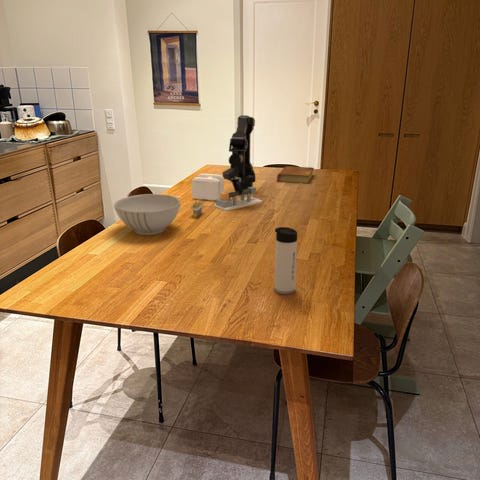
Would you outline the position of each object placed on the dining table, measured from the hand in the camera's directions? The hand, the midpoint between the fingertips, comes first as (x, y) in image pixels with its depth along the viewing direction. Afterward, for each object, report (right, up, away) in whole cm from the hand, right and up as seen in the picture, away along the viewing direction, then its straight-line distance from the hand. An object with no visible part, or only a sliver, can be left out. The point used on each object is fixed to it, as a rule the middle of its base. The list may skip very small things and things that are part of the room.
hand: (238, 193), depth 226 cm
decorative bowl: (-37, -19, -34) cm, 54 cm away
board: (0, -5, +2) cm, 5 cm away
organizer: (-16, -1, +13) cm, 20 cm away
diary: (+35, +14, +54) cm, 66 cm away
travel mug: (+14, -38, -85) cm, 95 cm away
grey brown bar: (0, -1, 0) cm, 1 cm away
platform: (-19, -12, -15) cm, 27 cm away
